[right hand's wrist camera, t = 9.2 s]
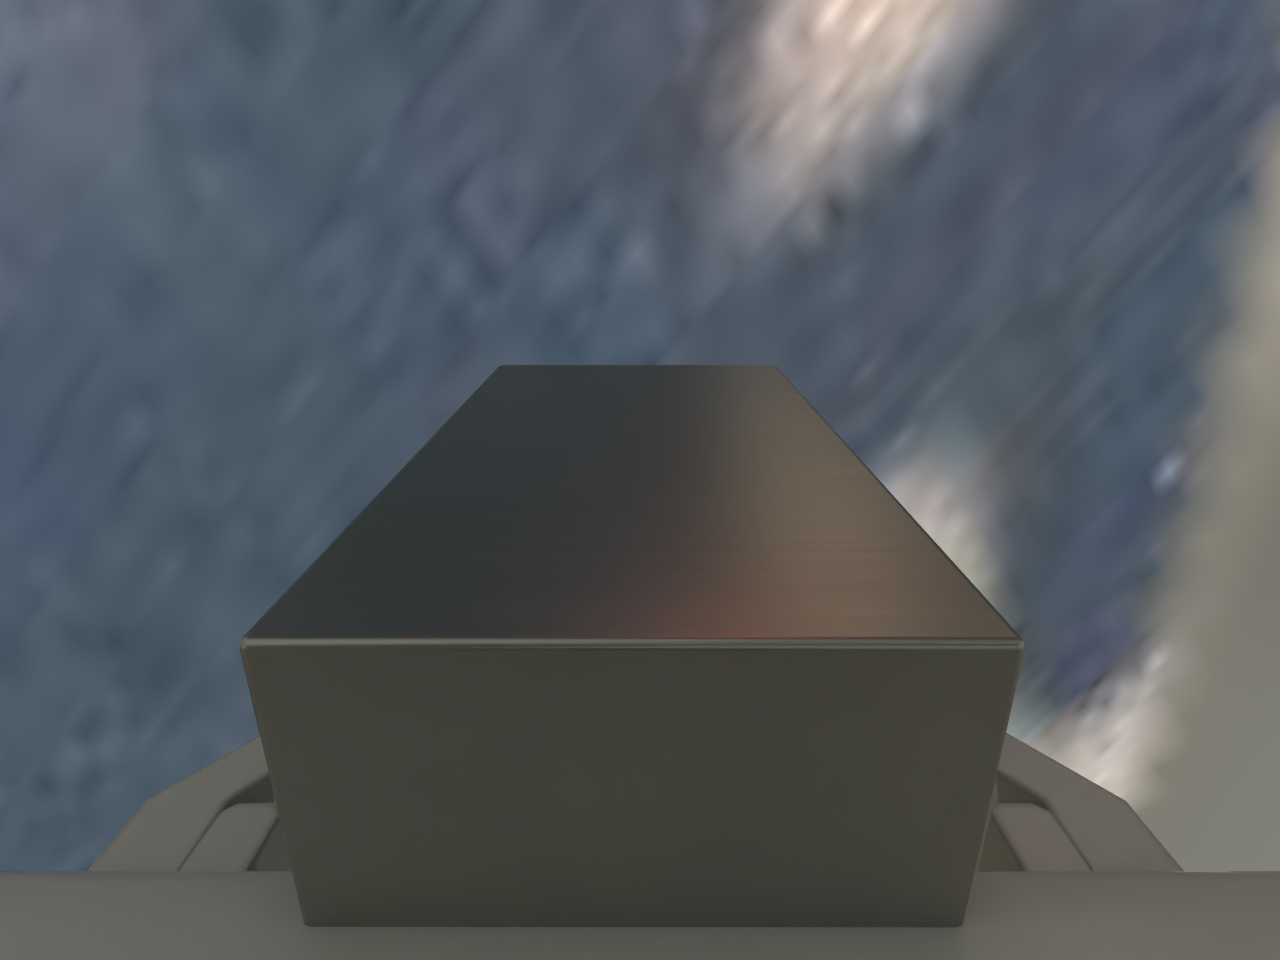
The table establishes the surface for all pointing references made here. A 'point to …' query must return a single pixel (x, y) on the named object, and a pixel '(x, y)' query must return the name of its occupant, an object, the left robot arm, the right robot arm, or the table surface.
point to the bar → (633, 674)
